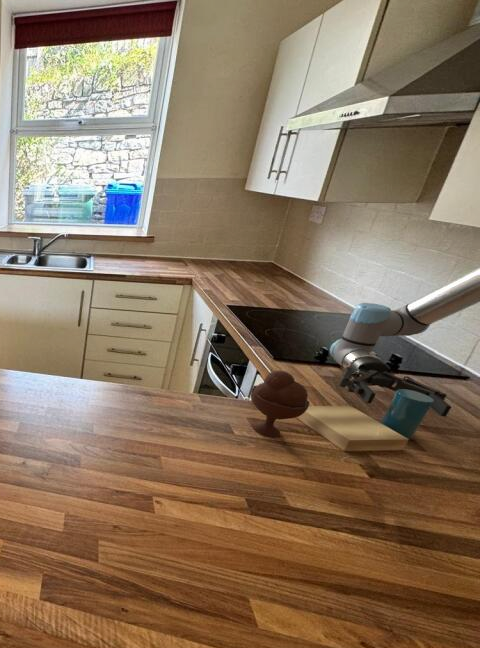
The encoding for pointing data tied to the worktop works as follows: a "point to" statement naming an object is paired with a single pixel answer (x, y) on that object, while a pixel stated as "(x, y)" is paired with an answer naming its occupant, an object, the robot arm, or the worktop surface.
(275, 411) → the ice cream bowl
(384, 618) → the worktop surface
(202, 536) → the worktop surface
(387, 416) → the canister
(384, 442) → the platform
